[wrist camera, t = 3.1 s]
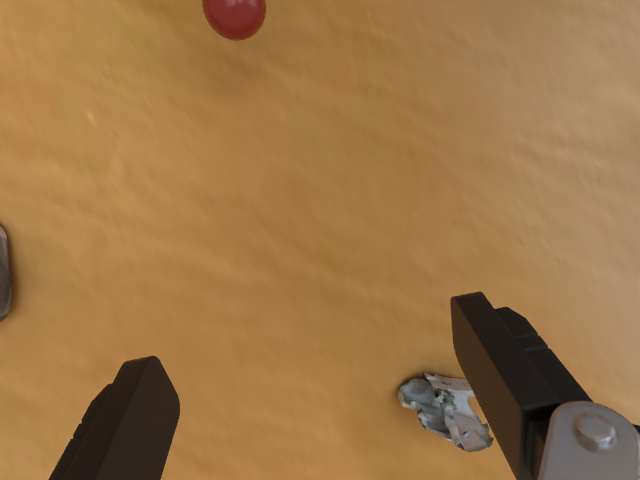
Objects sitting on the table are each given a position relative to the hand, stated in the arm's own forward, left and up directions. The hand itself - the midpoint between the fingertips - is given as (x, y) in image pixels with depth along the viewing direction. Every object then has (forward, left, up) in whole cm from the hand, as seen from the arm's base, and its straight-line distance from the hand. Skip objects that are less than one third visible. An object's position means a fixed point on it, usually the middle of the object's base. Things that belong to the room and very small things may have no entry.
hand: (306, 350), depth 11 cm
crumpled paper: (0, +19, -22) cm, 29 cm away
